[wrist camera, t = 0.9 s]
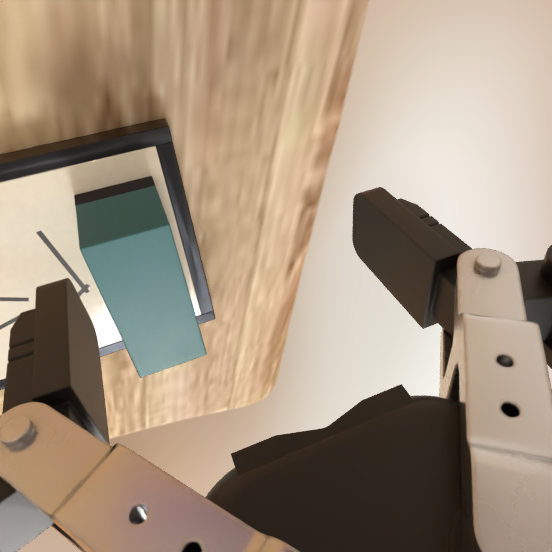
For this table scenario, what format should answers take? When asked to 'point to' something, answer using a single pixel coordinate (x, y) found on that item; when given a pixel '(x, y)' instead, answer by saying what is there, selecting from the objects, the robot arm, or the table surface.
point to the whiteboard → (63, 223)
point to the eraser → (139, 273)
